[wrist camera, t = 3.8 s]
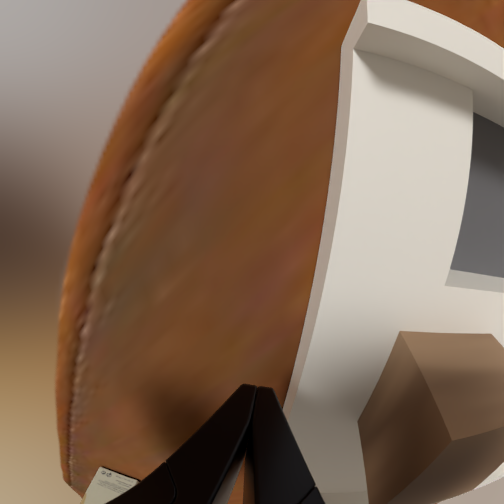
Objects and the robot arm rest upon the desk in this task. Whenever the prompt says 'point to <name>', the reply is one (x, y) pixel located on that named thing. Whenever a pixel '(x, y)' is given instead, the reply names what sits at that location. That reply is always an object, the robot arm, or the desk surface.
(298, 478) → the robot arm
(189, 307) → the desk surface
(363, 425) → the block
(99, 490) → the skincare box
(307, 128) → the desk surface
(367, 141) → the platform
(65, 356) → the desk surface
